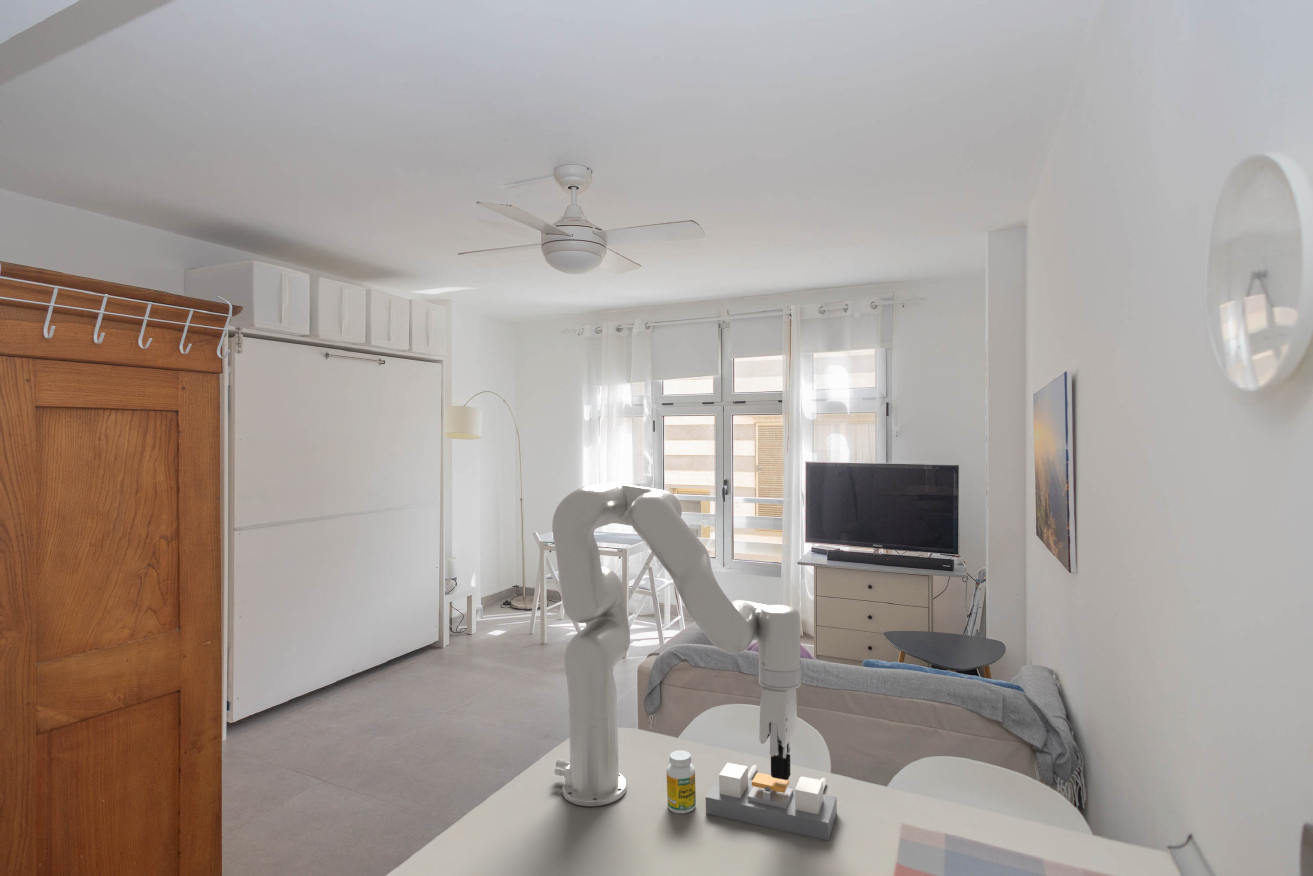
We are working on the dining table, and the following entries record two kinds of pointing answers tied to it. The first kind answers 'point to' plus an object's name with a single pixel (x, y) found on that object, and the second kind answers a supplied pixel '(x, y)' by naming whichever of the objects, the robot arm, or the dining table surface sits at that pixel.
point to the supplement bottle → (681, 783)
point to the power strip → (773, 803)
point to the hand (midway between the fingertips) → (780, 776)
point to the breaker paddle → (770, 783)
